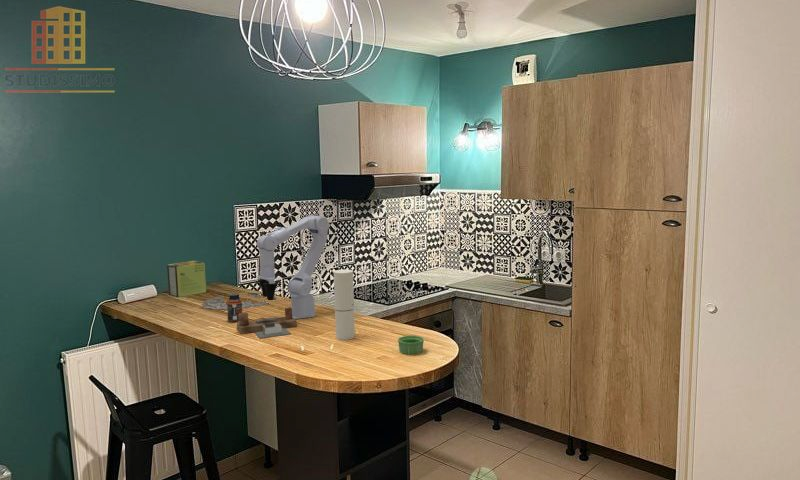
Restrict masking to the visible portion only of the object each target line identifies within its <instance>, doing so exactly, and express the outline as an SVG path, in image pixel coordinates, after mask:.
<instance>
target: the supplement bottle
mask: <svg viewBox="0 0 800 480" xmlns="http://www.w3.org/2000/svg"><path fill="white" fill-rule="evenodd" d="M239 294H240V293H237V292H235V293H230V294H228V295H229V299H228V300H227V310H226V311H227V321H228V322H229V323H239V313H243V309H242V300H241V299H240V298H239Z"/></svg>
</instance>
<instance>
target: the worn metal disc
mask: <svg viewBox="0 0 800 480" xmlns="http://www.w3.org/2000/svg"><path fill="white" fill-rule="evenodd" d="M247 293H248V294H249V295H250V296H252V297H254V296H255V297H254V298H258V299H260V298H262V297H258V296H257V295H258V294H261V296H263V293H257V292H247ZM248 294H247V295H248ZM249 295H248V296H249ZM259 296H260V295H259ZM223 297H224V295H220V296H215V297H211V298H208V299H206V300H204V301H203V302H202V303H201V306H202V308H203V309H207V310H211V311H228V310H227V302H226V303H225V302H224V298H223ZM222 298H223V301H222ZM264 298H265V297H264ZM252 299H253V298H252ZM276 299H277V300H278V298H277V297H276V296H274V299H273V300H276ZM247 300H248V299H247ZM265 302H266V301H264V302H263V303H261V301H260V302H258V303H254V302H251V301H249V302H247V301H244V302H242V310H244V309H250V307H252V308H257V307H261V305H262V306H266V303H265ZM267 305H270V304H269V303H267ZM256 306H257V307H256ZM243 308H244V309H243Z"/></svg>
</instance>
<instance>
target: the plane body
mask: <svg viewBox="0 0 800 480" xmlns="http://www.w3.org/2000/svg"><path fill="white" fill-rule="evenodd" d="M267 323H275V324H278V323H279V324H280V325H281V326H282V329H284V328H286V329H289V328H297V327H298V326H297V324H298V323H297V319H294V318H293V317H292V306H290V307H284V316H283V317H269V318H260V319H259V318H258V319H255V320H252V321H251V320H250V321H249V312H242V313H239V322H236V330H237V332H239V334H240V335H246V334H252V333H253V334H255V332H262V326H263V325H265V324H267Z"/></svg>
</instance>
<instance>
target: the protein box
mask: <svg viewBox="0 0 800 480" xmlns="http://www.w3.org/2000/svg"><path fill="white" fill-rule="evenodd" d="M166 268H167V284H168V294H169V295H170V296H173V297H177V298H181V297H188V296H193V295H198V294H204V293H207V281H206V264H205V261H203V262H202V261H198V260H191V261H182V262H175V263H170V264H167V265H166Z"/></svg>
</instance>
